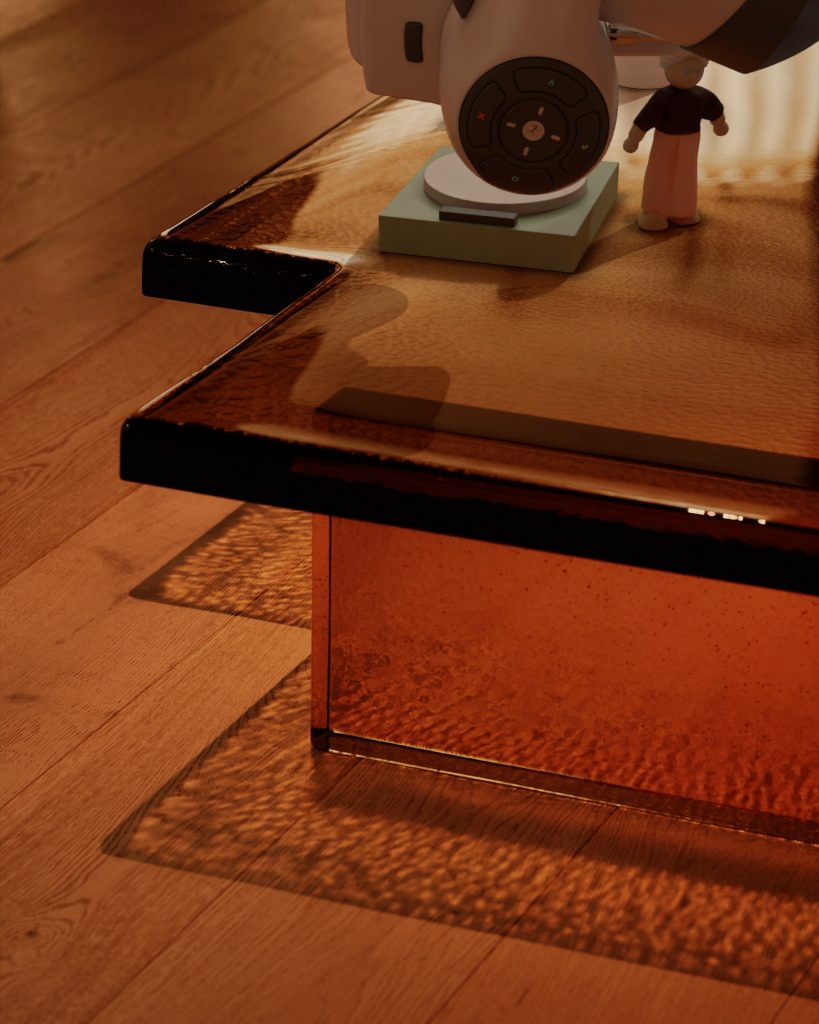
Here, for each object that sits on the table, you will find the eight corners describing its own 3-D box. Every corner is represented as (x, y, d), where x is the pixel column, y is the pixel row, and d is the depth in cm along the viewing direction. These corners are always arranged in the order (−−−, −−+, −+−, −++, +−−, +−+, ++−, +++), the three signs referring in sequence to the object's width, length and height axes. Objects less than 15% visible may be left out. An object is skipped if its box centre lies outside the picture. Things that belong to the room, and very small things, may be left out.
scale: (617, 196, 113) (620, 151, 111) (573, 273, 102) (575, 224, 100) (440, 178, 116) (440, 134, 115) (378, 251, 105) (377, 203, 103)
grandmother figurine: (648, 241, 106) (662, 48, 99) (611, 223, 109) (622, 34, 102) (734, 216, 109) (753, 28, 103) (696, 199, 112) (712, 16, 106)
